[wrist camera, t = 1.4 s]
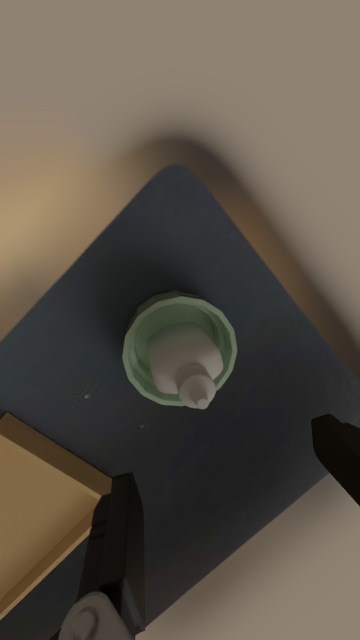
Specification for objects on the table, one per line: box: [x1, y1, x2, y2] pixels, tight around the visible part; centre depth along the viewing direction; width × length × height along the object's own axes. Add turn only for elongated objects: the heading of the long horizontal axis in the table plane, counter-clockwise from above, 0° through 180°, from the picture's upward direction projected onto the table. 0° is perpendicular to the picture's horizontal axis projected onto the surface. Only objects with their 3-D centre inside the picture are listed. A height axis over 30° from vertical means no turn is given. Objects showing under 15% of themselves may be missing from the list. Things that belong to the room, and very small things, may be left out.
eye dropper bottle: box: [148, 323, 223, 409], centre depth 21 cm, size 4×6×12 cm
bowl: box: [122, 291, 237, 406], centre depth 25 cm, size 10×10×4 cm
